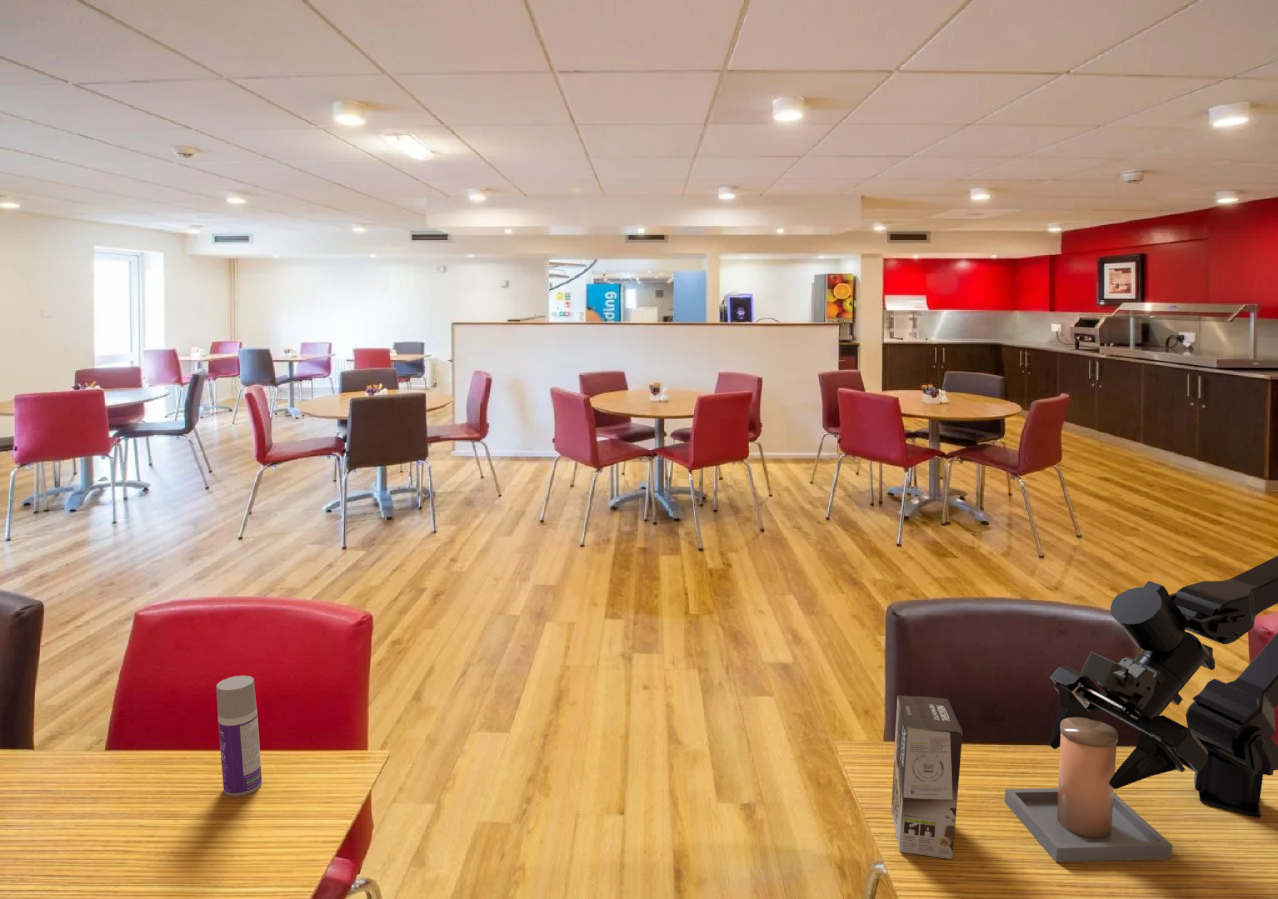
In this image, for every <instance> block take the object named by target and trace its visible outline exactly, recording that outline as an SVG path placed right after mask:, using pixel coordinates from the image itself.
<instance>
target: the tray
mask: <svg viewBox="0 0 1278 899" xmlns="http://www.w3.org/2000/svg"><path fill="white" fill-rule="evenodd" d="M1004 791H1005V792H1004V803H1005V805H1007V806H1008V808H1009V809H1010V810H1011V811H1012V812H1013V814H1014V815H1015V816H1016V817H1017V818H1018V819H1019V821H1020V822H1021V823H1022V824H1023V825H1024V826H1025V828H1026V829H1027V830H1028V831H1029V832H1030V834H1031V835H1032V836H1033V837H1034V838H1035V840H1037V842H1039V844H1040V846H1041V847H1043V849H1044V850H1045V851H1046V852H1047V854H1048V855H1049V856H1050V857H1051V858H1052V859H1053V861H1055V863H1063V862H1064V863H1067V862H1068V863H1071V862H1072V863H1073V862H1107V861H1108V862H1110V861H1111V862H1112V861H1114V862H1115V861H1118V862H1119V861H1146V860H1147V861H1150V860H1151V861H1152V860H1153V861H1154V860H1155V861H1156V860H1172V854H1173V853H1172V852H1173V844H1172V843H1170V842H1169V840H1167V839H1166V838H1165V837H1164V836H1163V835H1162V834H1161V833H1160V832H1159V831H1158V830H1156V829H1155V828H1154V827H1153V826H1151V825H1150V823H1148V821H1146V820H1145V819H1144V818H1143V817H1142V816H1140V814H1139V813H1137V812H1136V811H1135V810H1134V809H1133V808H1132V807H1131V806H1129V804H1127V803H1126V802H1125V801H1124V799H1122V798H1120V796H1119V795H1118V794H1116V793H1115V792H1114V797H1113V815H1112V832H1111V833H1110V835H1108V836H1106V837H1101V838H1093V837H1086V836H1082V835H1079V834H1076V833H1074V832H1071V831H1069V830H1068V829H1066V828H1065V827H1063V826H1062V825H1061V824H1060V823H1059V822H1058V820H1057V804H1058V787H1053V788H1052V787H1048V788H1047V787H1046V788H1043V787H1041V788H1040V787H1039V788H1006V789H1005V790H1004Z"/></svg>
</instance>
